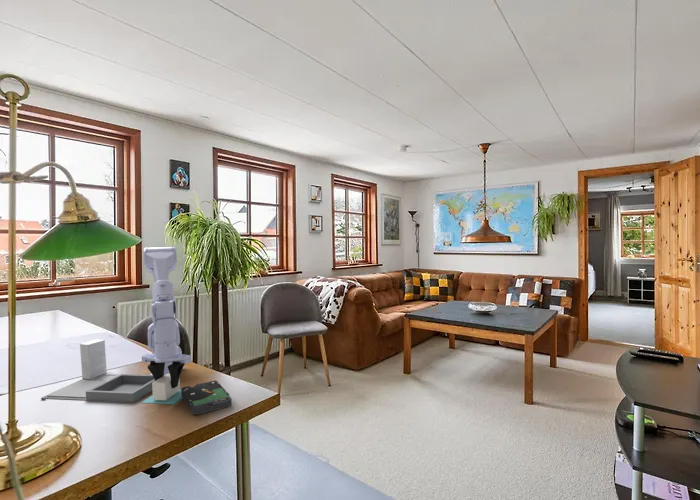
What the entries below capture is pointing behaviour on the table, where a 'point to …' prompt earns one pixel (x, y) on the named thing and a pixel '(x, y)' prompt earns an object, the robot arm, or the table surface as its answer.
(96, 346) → the skincare box
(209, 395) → the disk drive
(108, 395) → the case
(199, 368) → the table surface
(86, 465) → the table surface
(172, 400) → the teal pad
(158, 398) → the block
